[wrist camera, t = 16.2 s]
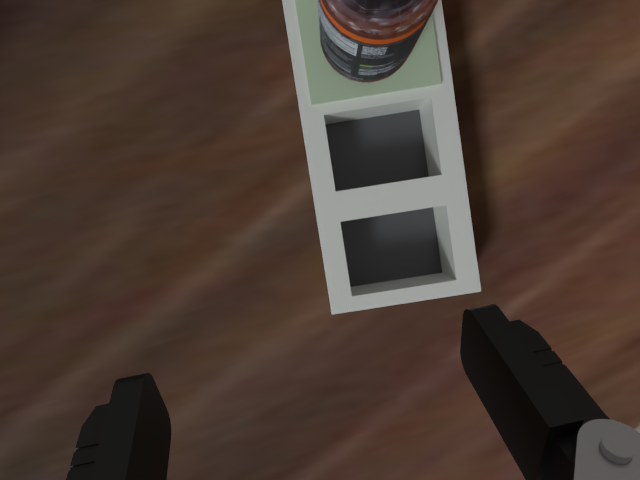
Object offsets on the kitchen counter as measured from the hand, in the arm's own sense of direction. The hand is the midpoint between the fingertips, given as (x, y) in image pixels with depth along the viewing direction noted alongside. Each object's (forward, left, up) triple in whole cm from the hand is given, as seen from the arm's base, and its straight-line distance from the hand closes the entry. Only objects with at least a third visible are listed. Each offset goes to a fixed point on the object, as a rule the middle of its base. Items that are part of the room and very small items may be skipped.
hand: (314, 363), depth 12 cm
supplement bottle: (+5, +14, -19) cm, 24 cm away
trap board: (+5, +8, -23) cm, 25 cm away
